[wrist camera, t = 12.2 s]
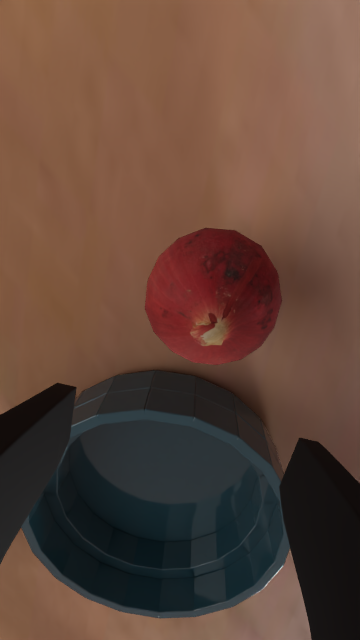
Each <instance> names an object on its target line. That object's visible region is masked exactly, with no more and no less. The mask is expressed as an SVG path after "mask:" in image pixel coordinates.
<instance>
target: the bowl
mask: <svg viewBox="0 0 360 640" xmlns="http://www.w3.org/2000/svg"><path fill="white" fill-rule="evenodd" d="M283 476H284V473H283V470H282V466H281V463H280V459H279V456H278V452H277V449H276V446H275V444H274V443H273V441H272V439H271V437H270V435H269V433H268V431H267V430H266V428H265V426H264V424H263V422H262V420H261V419H260V418H259V417H258V416H257V415H256V414H255V413H254V412H253V411H252V410H251V409H250V408H248V407H247V406H246V405H245V404H244V403H243V402H242V401H241V400H240V399H238V398H237V397H236V396H235V395H234V394H232V393H231V392H229V391H227V390H225V389H223V388H221V387H218V386H216V385H214V384H212V383H210V382H208V381H205V380H203V379H201V378H199V377H196V376H192V375H185V374H178V373H172V372H165V371H159V370H156V371H155V370H153V371H145V372H138V373H130V374H123V375H117V376H114V377H112V378H110V379H108V380H105V381H103V382H101V383H99V384H97V385H95V386H93V387H91V388H88V389H86V390H84V391H83V392H82V393H81V394H80V395H79V396H78V397H77V398H76V399H75V402H74V410H73V417H72V425H71V433H70V440H69V442H68V444H67V447H66V449H65V451H64V453H63V456H62V458H61V460H60V462H59V464H58V466H57V468H56V470H55V472H54V474H53V475H52V477H51V479H50V480H49V482H48V484H47V485H46V487H45V489H44V490H43V492H42V494H41V495H40V497H39V498H38V500H37V502H36V503H35V505H34V507H33V508H32V510H31V512H30V513H29V515H28V517H27V518H26V520H25V521H24V523H23V525H22V526H21V528H22V530H23V533H24V535H25V537H26V539H27V541H28V544H29V546H30V548H31V550H32V552H33V553H34V555H35V556H36V557H37V558H38V559H39V560H40V561H41V562H42V563H43V565H44V566H45V567H46V568H47V569H48V570H49V571H50V572H51V574H52V575H53V576H54V577H55V578H56V579H58V580H59V581H61V582H62V583H64V584H65V585H67V586H68V587H70V588H71V589H73V590H74V591H76V592H77V593H79V594H80V595H82V596H83V597H85V598H87V599H89V600H92V601H94V602H97V603H99V604H102V605H105V606H107V607H110V608H112V609H115V610H118V611H122V612H125V613H131V614H137V615H143V616H149V617H155V618H182V617H196V616H201V615H205V614H209V613H212V612H216V611H220V610H224V609H227V608H231V607H234V606H235V605H237V604H239V603H240V602H242V601H244V600H246V599H247V598H249V597H251V596H253V595H254V594H256V593H258V592H259V591H261V590H262V589H263V588H264V587H265V586H266V585H267V584H268V583H269V582H270V580H271V579H272V578H273V577H274V576H275V575H276V574H277V573H278V571H279V570H280V569H281V568H282V567H283V566H284V563H285V561H286V558H287V555H288V552H289V549H290V545H289V541H288V537H287V533H286V529H285V525H284V521H283V514H282V507H281V499H280V490H279V486H280V483H281V481H282V478H283Z"/></svg>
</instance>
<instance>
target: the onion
mask: <svg viewBox="0 0 360 640" xmlns="http://www.w3.org/2000/svg"><path fill="white" fill-rule="evenodd" d="M281 302H282V298H281V291H280V284H279V277H278V273H277V270H276V269H275V267H274V265H273V264H272V262H271V261H270V259H269V257H268V256H267V254H266V253H265V251H264V249H263V248H262V246H261V245H259V244H257V243H255V242H254V241H252V240H250V239H249V238H247V237H245V236H244V235H242V234H240V233H239V232H237V231H235V230H223V229H211V228H204V229H201V230H199V231H196V232H193V233H191V234H188V235H186V236H183V237H181V238H178V239H177V240H176V241H175V242H174V243H173V244H172V245H171V246H170V247H169V248H168V249H166V250H165V251H164V252H163V253H162V254H161V255H160V256H159V258H158V260H157V262H156V264H155V266H154V268H153V270H152V272H151V274H150V277H149V279H148V282H147V291H146V301H145V310H146V313H147V315H148V318H149V321H150V323H151V326H152V328H153V331H154V333H155V334H156V335H157V336H158V337H159V338H160V339H161V340H162V341H163V342H164V343H165V344H166V345H167V346H168V348H169V349H170V350H171V351H172V352H174V353H176V354H178V355H180V356H182V357H184V358H186V359H188V360H190V361H192V362H196V363H205V364H213V365H218V364H223V363H227V362H232V361H236V360H241V359H242V358H244V357H245V356H247V355H248V354H250V353H251V352H253V351H254V350H256V349H257V348H259V347H260V346H261V345H262V344H263V342H264V341H265V340H266V338H267V337H268V335H269V334H270V333H271V331H272V330H273V328H274V326H275V323H276V320H277V316H278V313H279V309H280V306H281Z"/></svg>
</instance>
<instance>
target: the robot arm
mask: <svg viewBox="0 0 360 640" xmlns="http://www.w3.org/2000/svg"><path fill="white" fill-rule="evenodd" d="M75 394H76V387H73V386H69V385H65V384H60V383H56V384H55V385H53V386H51V387H49V388H47V389H46V390H44V391H42V392H40V393H39V394H37V395H35V396H34V397H32V398H30V399H28V400H27V401H25V402H23V403H21V404H20V405H18V406H16V407H14V408H12V409H10V410H9V411H7V412H5V413H3V414H1V415H0V564H1V562H2V560H3V558H4V556H5V554H6V552H7V550H8V549H9V547H10V545H11V543H12V541H13V540H14V538H15V536H16V535H17V533H18V531H19V530H20V528H21V526H22V525H23V523H24V521H25V520H26V518H27V517H28V515H29V513H30V512H31V510H32V508H33V507H34V505H35V503H36V502H37V500H38V498H39V497H40V495H41V494H42V492H43V490H44V489H45V487H46V485H47V484H48V482H49V480H50V479H51V477H52V475H53V474H54V472H55V470H56V468H57V466H58V464H59V462H60V460H61V458H62V456H63V453H64V451H65V449H66V447H67V444H68V442H69V440H70V433H71V425H72V417H73V410H74V402H75ZM279 490H280V499H281V507H282V514H283V521H284V525H285V529H286V533H287V537H288V541H289V545H290V549H291V553H292V557H293V560H294V564H295V568H296V572H297V576H298V580H299V583H300V587H301V591H302V595H303V599H304V603H305V607H306V612H307V616H308V621H309V626H310V632H311V638H312V640H360V483H359V482H358V481H357V480H356V479H355V478H354V477H353V476H352V475H351V474H350V473H349V472H348V471H347V470H346V469H345V468H344V467H343V466H342V465H341V464H340V463H339V462H338V461H337V460H336V459H335V457H334V456H333V455H332V454H331V453H330V452H329V451H328V450H327V449H326V448H324V447H323V446H322V445H321V444H320V443H319V442H317V441H312V440H308V439H303V438H299V440H298V442H297V445H296V447H295V450H294V452H293V454H292V457H291V459H290V462H289V464H288V466H287V469H286V471H285V474H284V476H283V478H282V481H281V483H280V486H279Z"/></svg>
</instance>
